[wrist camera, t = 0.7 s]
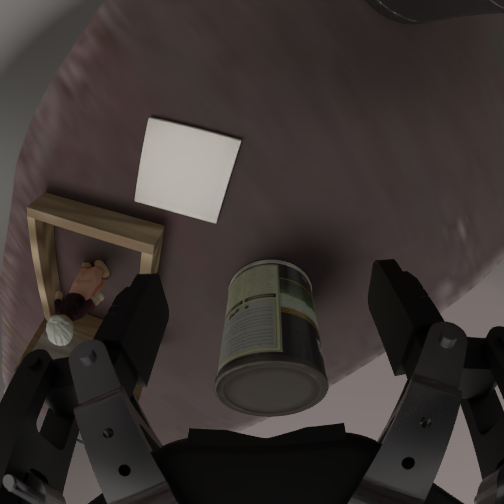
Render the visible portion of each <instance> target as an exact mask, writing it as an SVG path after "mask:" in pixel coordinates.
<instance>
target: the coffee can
mask: <svg viewBox="0 0 504 504" xmlns="http://www.w3.org/2000/svg"><path fill="white" fill-rule="evenodd" d="M228 294H229V295H228V302H227V309H226V316H225V323H224V330H223V337H222V344H221V352H220V359H219V367H218V374H217V377H216V380H215V384H214V392H215V394H216V396H217V398H218V399H219V400H220V401H221V402H222V403H223V404H224V405H226V406H228V407H229V408H231V409H233V410H236V411H238V412H241V413H245V414H249V415H255V416H267V417H272V416H284V415H290V414H294V413H298V412H301V411H304V410H306V409H309V408H311V407H313V406H314V405H316V404H317V403H319V402H320V401H321V400H322V399H323V398H324V397H325V395H326V393H327V391H328V379H327V376H326V373H325V367H324V360H323V354H322V348H321V341H320V336H319V330H318V324H317V318H316V312H315V307H314V301H313V295H312V286H311V282H310V280H309V278H308V276H307V275H306V274H305V273H304V271H302V270H301V269H300V268H299V267H297V266H295V265H293V264H291V263H289V262H286V261H282V260H275V259H270V260H260V261H257V262H253V263H251V264H248V265H246V266H244V267H243V268H241V269H240V270H239V271H238V272H237V273H236V274H235V275H234V277H233V278H232V280H231V282H230V285H229V290H228Z"/></svg>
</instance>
